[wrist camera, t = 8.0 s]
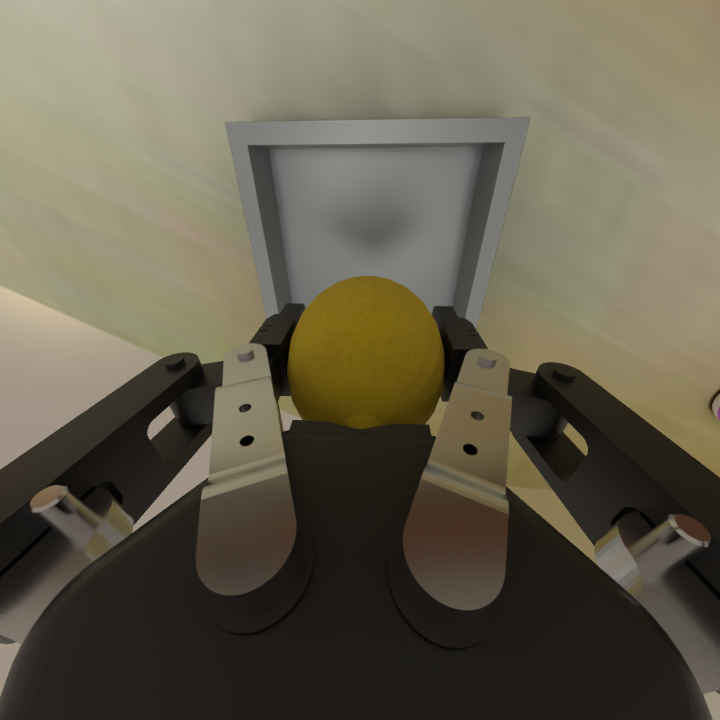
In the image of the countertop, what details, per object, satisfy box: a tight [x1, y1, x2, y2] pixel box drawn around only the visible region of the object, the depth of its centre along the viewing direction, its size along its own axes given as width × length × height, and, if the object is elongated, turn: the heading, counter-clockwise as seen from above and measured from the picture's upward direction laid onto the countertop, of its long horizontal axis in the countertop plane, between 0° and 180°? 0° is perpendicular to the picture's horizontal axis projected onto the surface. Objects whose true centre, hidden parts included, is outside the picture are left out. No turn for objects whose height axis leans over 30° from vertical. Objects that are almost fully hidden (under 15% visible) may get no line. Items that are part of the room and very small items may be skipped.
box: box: [225, 117, 531, 328], centre depth 21 cm, size 16×16×4 cm
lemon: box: [287, 276, 445, 429], centre depth 10 cm, size 6×6×8 cm
